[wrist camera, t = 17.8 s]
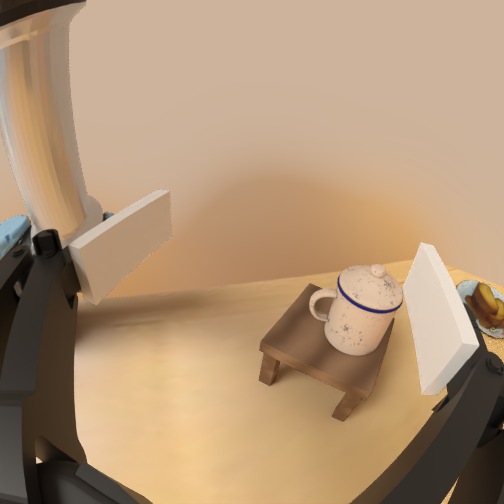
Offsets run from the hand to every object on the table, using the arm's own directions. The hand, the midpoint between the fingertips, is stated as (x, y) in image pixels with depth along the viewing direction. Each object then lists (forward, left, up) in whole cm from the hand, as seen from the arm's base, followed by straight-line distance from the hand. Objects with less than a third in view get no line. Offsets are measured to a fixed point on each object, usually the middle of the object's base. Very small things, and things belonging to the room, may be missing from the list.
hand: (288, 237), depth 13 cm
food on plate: (+42, +60, -32) cm, 80 cm away
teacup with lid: (+3, +19, -22) cm, 29 cm away
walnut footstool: (+2, +19, -32) cm, 37 cm away
